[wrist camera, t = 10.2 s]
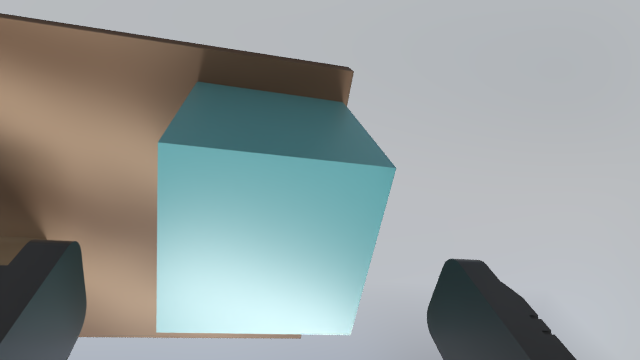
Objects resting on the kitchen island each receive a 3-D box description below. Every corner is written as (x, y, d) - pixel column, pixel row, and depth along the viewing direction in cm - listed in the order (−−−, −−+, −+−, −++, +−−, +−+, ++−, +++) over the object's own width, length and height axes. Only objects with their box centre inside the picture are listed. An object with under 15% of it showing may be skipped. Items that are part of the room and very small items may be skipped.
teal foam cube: (197, 81, 14) (157, 142, 9) (342, 102, 16) (395, 167, 10) (190, 213, 17) (156, 332, 11) (318, 222, 18) (350, 334, 12)
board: (-123, -6, 13) (-394, -5, 7) (348, 67, 16) (394, 104, 11) (-38, 319, 18) (-157, 453, 13) (298, 324, 22) (313, 432, 16)
